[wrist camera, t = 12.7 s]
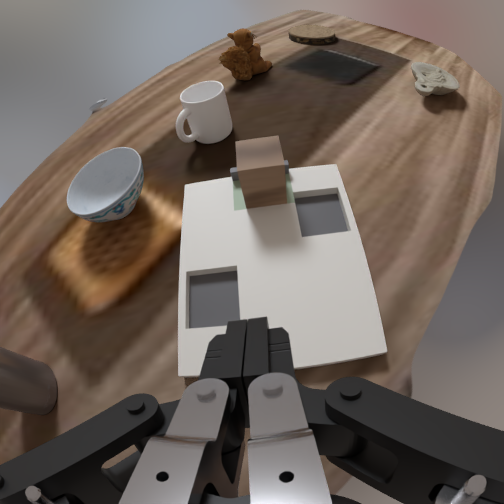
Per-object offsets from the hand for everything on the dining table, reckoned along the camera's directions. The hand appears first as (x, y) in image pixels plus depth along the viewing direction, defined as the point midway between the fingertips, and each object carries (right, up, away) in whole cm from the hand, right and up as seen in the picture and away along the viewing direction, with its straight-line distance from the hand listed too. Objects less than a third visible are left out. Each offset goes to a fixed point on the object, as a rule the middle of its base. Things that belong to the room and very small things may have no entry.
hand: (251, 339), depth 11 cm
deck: (+3, +2, +30) cm, 30 cm away
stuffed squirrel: (-1, +51, +58) cm, 77 cm away
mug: (-9, +26, +45) cm, 53 cm away
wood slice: (+21, +76, +69) cm, 105 cm away
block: (+2, +13, +34) cm, 36 cm away
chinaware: (-24, +12, +40) cm, 48 cm away
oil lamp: (+47, +45, +48) cm, 81 cm away
